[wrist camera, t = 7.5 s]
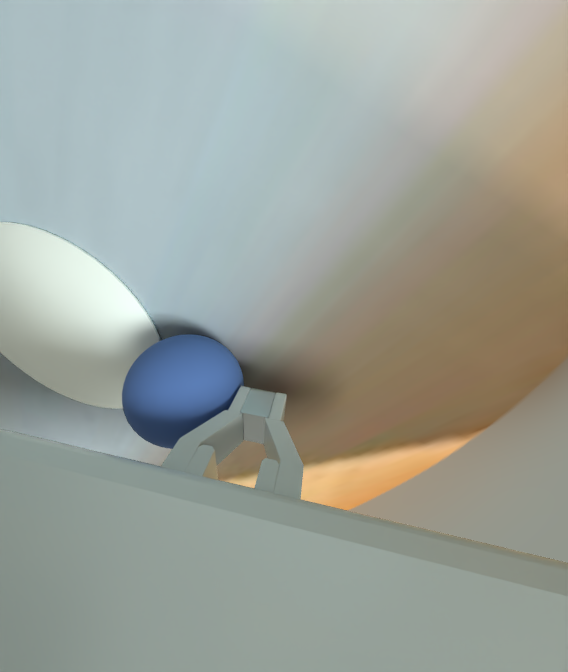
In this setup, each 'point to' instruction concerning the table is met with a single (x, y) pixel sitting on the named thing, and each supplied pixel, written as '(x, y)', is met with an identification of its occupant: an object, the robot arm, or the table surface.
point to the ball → (179, 387)
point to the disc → (68, 317)
